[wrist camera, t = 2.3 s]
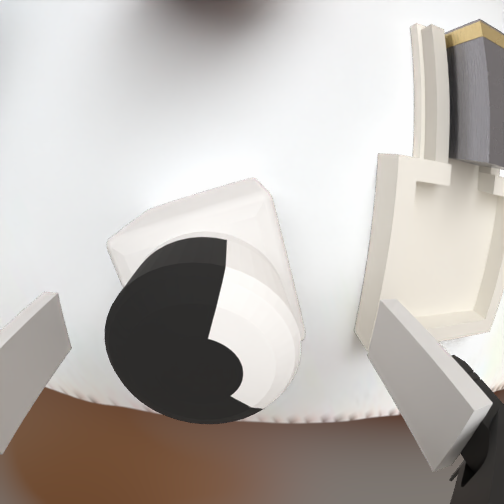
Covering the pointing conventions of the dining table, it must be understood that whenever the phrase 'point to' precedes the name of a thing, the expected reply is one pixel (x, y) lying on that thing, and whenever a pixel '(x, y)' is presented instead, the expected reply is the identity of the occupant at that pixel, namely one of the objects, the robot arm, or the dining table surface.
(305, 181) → the dining table surface
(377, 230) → the dock socket
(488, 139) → the grey rectangular block
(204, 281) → the container
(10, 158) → the dining table surface
